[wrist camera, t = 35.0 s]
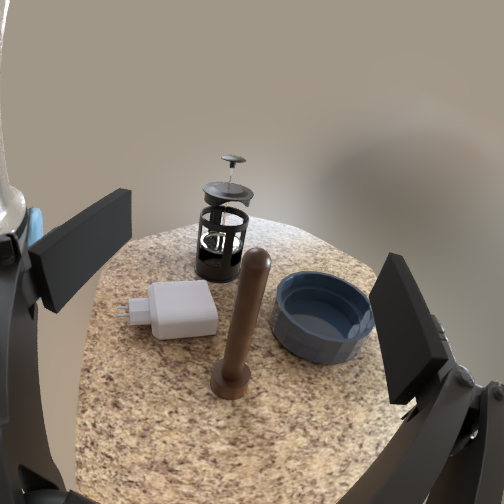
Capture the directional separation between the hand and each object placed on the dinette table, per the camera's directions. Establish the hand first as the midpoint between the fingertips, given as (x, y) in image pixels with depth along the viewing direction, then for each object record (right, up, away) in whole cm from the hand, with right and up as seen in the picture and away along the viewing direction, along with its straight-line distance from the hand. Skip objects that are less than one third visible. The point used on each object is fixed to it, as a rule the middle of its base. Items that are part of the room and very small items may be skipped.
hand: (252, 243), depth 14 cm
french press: (-7, -4, +45) cm, 46 cm away
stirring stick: (-3, -18, +22) cm, 29 cm away
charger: (-14, -11, +30) cm, 35 cm away
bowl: (+11, -14, +35) cm, 39 cm away
